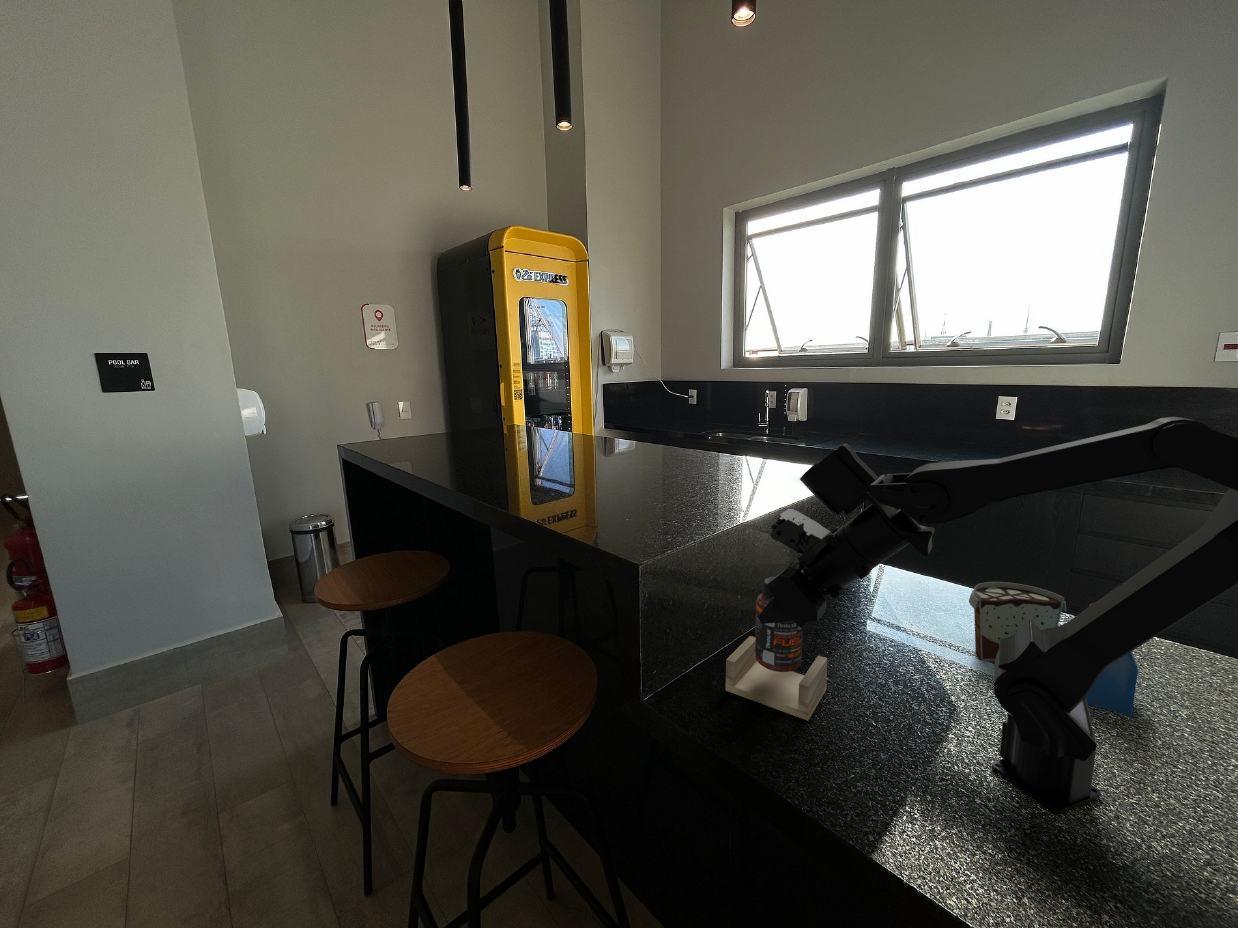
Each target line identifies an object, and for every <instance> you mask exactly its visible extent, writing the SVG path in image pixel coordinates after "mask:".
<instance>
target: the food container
mask: <svg viewBox="0 0 1238 928" xmlns="http://www.w3.org/2000/svg"><path fill="white" fill-rule="evenodd" d="M968 603H969V605H970V606H971V607H972V608H973V611H974V612H973V615H974V616H973V617H974V644H975V647H974V648H975V650H974V651H975V654H976V657H977V658H978V660H980V661H987V662H988V661H989V662H990V661H993V662H994V661H995V659H996V655H997V653H998V651H999V643H1000V639H1003V638H1007V637H1010V636H1012V635H1014V634H1015V633H1016V632H1017V631H1018V630H1019V629H1020V628H1021V627H1022V626H1023V625H1024V624H1025V623H1026V622H1027V621H1028V620H1032V621H1033V622H1034V623H1035V624H1036V625H1037V626H1038V627H1039V628H1040V629H1041V630H1044V629H1049V628H1053V627H1057V626H1059V623H1060V619H1061V617H1062V616H1061V615H1062V611H1064V612H1067V611H1068V610H1067V603H1066V601H1065V597H1064V596H1062V595H1060V594H1057V593H1055V592H1052V591H1050V590H1047V589H1044V588H1041V587H1036V586H1032V585H1029V584H1028V585H1027V584H1024V583H1023V584H1021V583H1015V582H1008V581H1007V582H1006V581H1005V582H1004V581H987V582H981V583H977V584H976V585H975V586H974V588H973V589H972V590H971V593H970V595H969V598H968Z"/></svg>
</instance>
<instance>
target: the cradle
mask: <svg viewBox="0 0 1238 928" xmlns="http://www.w3.org/2000/svg"><path fill="white" fill-rule="evenodd" d="M755 639H756V636H752V635H749V636H748V637H747V638H746V639H745V640H744V641H743V642H742V643H741V644H740V645H739V646H738V647H737V648H736V649H735V650H734V652H732V653H731V654H730V655H729V656H728V657H727V658H726V659H725V660H726V661H725V691H726V692H728V693H732V694H735V695H737V696H740V697H742V698H745V699H747V700H751V701H753V702H756V703H759V704H761V705H764V706H767V707H769V708H772V709H775V710H778V711H781V712H783V713H786V714H788V715H792V716H794V717H797V718H799V719H802V720H805V721H809V720H810V719H811V716H812V715H813V713H814V712H815V709H816V708H817V707H818V704H819V702H820V701H821V699H822V698H823V696H824V694H825V693H826V690H827V686H828V685H827V684H828V683H827V676H828V675H827V674H828V673H827V672H828V658H827V657H825V656H821V655H817V656H816V658H815V660H814V661H813V662H812V664H811V665H810V667H809V668H808V670H807V671H806V673H805V674H800V673H798V672H795V671H789V672H776V671H772V670H769V669H767V668H765V667H763V666H762V665H760V664H759V663H758V662H757V660H756V657H755Z"/></svg>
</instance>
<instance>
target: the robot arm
mask: <svg viewBox="0 0 1238 928" xmlns="http://www.w3.org/2000/svg"><path fill="white" fill-rule="evenodd" d="M1170 468H1171V469H1172V468H1179V469H1182V470H1184V471H1187V472H1189V473H1192V474H1193V475H1197V476H1199V477H1202V478H1204V479H1206V480H1207V479H1208V480H1209V481H1211V482H1214V483H1217V484H1219V485H1222V486H1224V487H1227V488H1229V489H1228V490H1227V491H1226V492H1225V493H1224V494H1223V496H1222V497H1221V499H1220V500H1219V501H1218V503H1217V504H1216V505H1215V507H1214V509H1213V511H1212V512H1211V513H1210V515H1209V517H1208V518H1207V520H1206V521H1205V523H1204V524H1203V525H1202V526H1201V527H1200V528H1199V529H1198V530H1197V531H1195V532H1194V533H1192V534H1191V535H1190V536H1188V537H1187V538H1184V539H1183V540H1182V541H1181V542H1179V543H1178V544H1177V545H1175V546H1174V547H1172V548H1171V549H1169V550H1168V551H1167V552H1165V553H1164V554H1163V555H1161V556H1160V557H1158V558H1157V559H1155V560H1153V561H1152V562H1151V563H1149V564H1148V565H1147V566H1145V567H1144V568H1143V569H1141V570H1140V571H1138V572H1137V573H1135V574H1134V575H1132V576H1131V577H1130V578H1128V579H1127V580H1125V581H1123V583H1121V584H1119V585H1118V586H1117V587H1115V588H1114V589H1113V590H1111V591H1109V592H1108V593H1107V594H1105V595H1104V596H1102V597H1101V598H1100V599H1098V600H1096V601H1095V602H1093V603H1094V604H1092V605H1091V606H1090V605H1089V607H1088V606H1087V608H1085V609H1084V610H1083V611H1081V612H1080V613H1078V614H1077V615H1075V616H1074V617H1072V618H1070V620H1068V621H1066V623H1063V624H1060V625H1058V626H1057V627H1053V628H1049V629H1044V630H1041V629H1040V628H1039V627H1038V626H1037V625H1036V624H1035V623H1034V622H1033V621H1032V620H1028V621H1027V622H1026V623H1025V624H1024V625H1023V626H1022V627H1021V628H1020V629H1019V630H1018V631H1017V632H1016V633H1015V634H1014V635H1012V636H1010V637H1007V638H1003V639H1000V643H999V651H998V653H997V655H996V659H995V663H994V675H993V676H994V677H993V692H994V696H995V698H996V700H997V703H998V704H999V705H1000V706H1001V707H1002V709H1004V710H1005V712H1006V713H1007V717H1006V718H1007V719H1006V721H1003V722H1002V725H1001V735H1000V742H999V743H1000V746H999V757H1001V759H999V760H996V761H994V762H992V763H991V769H992V770H993V771H994V772H996V774H997V773H998V774H999V775H1000V776H1002V777H1003V778H1005V780H1007V781H1009V782H1010V783H1012V784H1013V785H1014V786H1016V787H1018V788H1019V789H1020V790H1021V791H1023V792H1024V793H1026V794H1027V795H1029V796H1030V797H1031V798H1033V799H1034V800H1036V801H1037V802H1039V803H1040V804H1041V805H1043V807H1046V808H1047V809H1049V810H1050V811H1051V812H1054V813H1056V814H1063V813H1066V812H1068V811H1071V810H1073V809H1075V808H1079V807H1080V806H1084V805H1086V804H1089V803H1091V802H1094V801H1096V800H1099V799H1100V798H1101V796H1102V792H1101V791H1100V790H1099V789H1098V788H1096V787H1095V786H1094V785H1093V784H1092V783H1093V776H1094V769H1095V761H1096V753H1097V747H1098V744H1097V740H1096V737H1095V732H1094V727H1093V723H1092V718H1091V715H1090V709H1089V705H1088V704H1087V700H1086V698H1085V697H1086V695H1087V694H1088V692H1089V691H1090V689H1091V688H1092V686H1093V685H1094V683H1095V682H1096V680H1097V679H1098V677H1099V676H1100V674H1101V673H1102V672H1103V670H1104V669H1105V668H1106V667H1108V666H1109V665H1111V664H1112V663H1114V662H1116V661H1117V660H1119V659H1120V658H1122V657H1124V656H1125V655H1127V654H1128V653H1130V652H1133V651H1135V650H1136V649H1138V648H1139V647H1141V646H1142V645H1145V644H1146V643H1147V642H1149V641H1151V640H1152V639H1153V638H1154V639H1155V638H1156V637H1157V636H1159V635H1160V634H1162V633H1163V632H1165V631H1167V630H1168V629H1171V627H1173V626H1174V625H1176V624H1178V623H1180V622H1181V621H1183V620H1184V619H1186V618H1187V617H1189V616H1191V615H1193V613H1195V612H1197V611H1199V610H1200V609H1201V608H1203V607H1206V606H1207V605H1208V604H1210V603H1211V602H1213V601H1214V600H1216V599H1218V598H1220V597H1221V596H1222V595H1225V593H1228V592H1229V591H1230V590H1232V589H1233V588H1235V587H1237V586H1238V438H1237V437H1234V436H1231V435H1228V434H1225V433H1223V432H1220V431H1217V430H1214V429H1211V428H1210V427H1209V426H1208V425H1207V424H1204V423H1202V422H1200V421H1197V420H1194V419H1191V418H1186V417H1180V416H1168V417H1161V418H1158V419H1155V420H1153V421H1151V422H1149V423H1146V424H1143V425H1138V426H1134V427H1131V428H1126V429H1122V430H1121V429H1120V430H1117V431H1113V432H1108V433H1105V434H1099V435H1095V436H1092V437H1087V438H1081V439H1078V440H1073V441H1070V442H1065V443H1062V444H1061V443H1060V444H1056V445H1052V446H1048V447H1044V448H1040V449H1036V450H1031V451H1026V452H1023V453H1018V454H1013V455H1009V456H1004V457H1001V458H1000V457H999V458H991V459H989V458H988V459H966V460H952V461H942V462H932V463H931V462H930V463H926V464H924V465H921V466H919V467H917V468H916V469H914V470H913V471H912V472H906V473H905V472H904V473H903V472H902V473H888V474H887V473H886V474H881V475H880V476H877V474H876V473H875V472H874V471H873V470H872V469H871V468H870V467H869V466H868V465H867V464H866V463H865V462H864V461H863V460H862V459H861V458H860V457H859V456H858V454H857V453H856V450H854V449H853V448H852V447H851V446H850V445H849V444H848V443H844V444H842V445H839V446H838V448H836V449H835V450H834V451H832V452H831V453H829V454H828V455H827V456H826V457H825V458H823V459H822V460H820V461H817V462H815V463H814V464H812V466H810V468H808V469H807V470H806V471H805V472H804V473H803V474H802V475H801V476H800V477H799V480H800V482H801V483H802V484H803V485H804V486H805V487H806V488H807V489H808V490H809V491H810V492H811V494H812V495H813V496H814V497H816V499H817V500H818V501H819V502H820V503H821V504H822V506H824V508H826V510H827V511H828V512H829V514H831V515H833V514H834V513H835V514H836V515H837V516H839V515H841V514H843V515H844V516H845V517H847V516H848V515H850V513H852V512H853V511H855V510H856V509H857V508H858V507H859V506H861V505H862V504H863V503H864V502H867V500H868V502H869V503H870V505H868V506H866V507H865V508H864V509H863V510H862V511H861V512H859V513H858V514H857V515H856V516H854V517H853V518H852V519H850V520H849V521H848V522H846V523H845V524H844V525H841V526H839V525H837V526H836V527H835V528H834V529H832V530H831V531H830V530H829V529H827V528H825V527H824V526H822V525H821V524H820V523H818V522H817V521H816V520H813V519H812V518H810V517H808V516H806V515H805V514H803V513H802V512H800V511H798V510H796V509H793V508H788V509H786V510H784V511H783V512H780V514H779V515H778V518H777V520H776V521H775V522H774V523H772V525H771V531H770V533H769V536H770V538H771V539H772V540H774V541H775V542H779V543H781V544H782V545H784V546H785V547H787V548H789V549H792V550H793V551H794V552H796V553H798V554H801V555H800V556H798V557H797V558H796V559H797V561H798V567H797V568H796V567H790V566H788V567H786V568H785V569H783V570H782V571H781V572H780V573H779V574H777V575H776V576H774V577H775V578H774V579H773V580H771V581H770V582H769V583H768V584H767V586H768V590H769V591H770V592H771V593H772V595H773V596H774V597H773V598H772V599H771V600H770V602H769V603H768V604H767V605H766V607H765V608H764V609H763V610H762V612H761V613H760V614H759V615H758V619H759V620H760V622H761V623H762V624H767V623H779V622H796V624H797V625H798V626H799V627H800V628H802V629H803V631H805V630H808V629H809V628H810V627H812V626H813V625H815V624H816V623H818V622H819V620H820V619H821V618H822V616H823V615H824V614H825V613H826V611H827V599H826V598H825V597H824V596H829V595H830V596H831V597H832V598H833V599H835V598H836V597H838V596H839V595H841V594H842V592H843V591H844V590H845V589H846V588H847V587H849V586H850V585H851V584H853V583H854V582H856V581H857V580H858V579H860V580H863V579H864V578H866V577H867V576H869V575H870V573H871V572H872V571H873V570H874V568H876V567H878V566H879V565H880V564H882V563H884V562H885V561H886V560H888V559H889V558H890V557H892V556H895V554H897V553H898V552H900V551H901V550H903V549H904V548H905V547H907V546H909V545H911V547H913V549H915V550H916V551H917V552H918V553H919V554H920V555H921V556H922V557H925V558H926V557H928V556H929V555H930V552H931V550H932V548H933V540H932V539H933V536H934V533H935V529H936V528H935V527H932V526H933V525H936V526H937V525H942V524H945V523H947V522H948V523H949V522H950V521H953V520H956V519H960V518H963V517H965V516H968V515H972V514H974V513H977V512H979V511H981V510H983V509H985V508H987V507H990V506H993V505H994V504H997V503H999V502H1003V501H1006V500H1009V499H1011V498H1016V497H1022V496H1026V495H1030V494H1031V495H1033V494H1038V493H1042V492H1048V491H1054V490H1058V489H1063V488H1068V487H1073V486H1074V487H1075V486H1079V485H1085V484H1089V483H1095V482H1101V481H1105V480H1111V479H1115V478H1116V479H1117V478H1120V477H1121V478H1123V477H1127V476H1131V475H1137V474H1142V473H1148V472H1153V471H1158V470H1164V469H1170ZM922 524H923V525H927V526H923V525H922ZM929 525H930V527H929Z"/></svg>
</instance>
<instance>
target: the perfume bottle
mask: <svg viewBox="0 0 1238 928" xmlns="http://www.w3.org/2000/svg"><path fill="white" fill-rule="evenodd" d="M1094 603H1095V602H1092V603H1089V607H1090V606H1091V605H1092V604H1094ZM1138 674H1139V668H1138V665H1137V661H1136V658H1135V656H1134V652H1133V651H1132V652H1130V653H1128V654H1127V655H1125V656H1124V657H1122V658H1120V659H1119V660H1117V661H1116V662H1114V663H1112V664H1111V665H1109V666H1108V667H1106V668H1105V669H1104V670H1103V672H1102V673H1101V674H1100V676H1099V677H1098V679H1097V680H1096V682H1095V683H1094V685H1093V686H1092V688H1091V689H1090V691H1089V692H1088V694H1087V695H1086V697H1085V698H1086V700H1087V704H1088V706H1093V707H1096V708H1100V709H1103V710H1106V709H1107V711H1111V712H1114V713H1117V714H1120V713H1121V715H1124V716H1128V717H1132V716H1133V709H1134V701H1135V696H1136V695H1135V694H1136V689H1137V683H1138V682H1137V680H1138Z"/></svg>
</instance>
